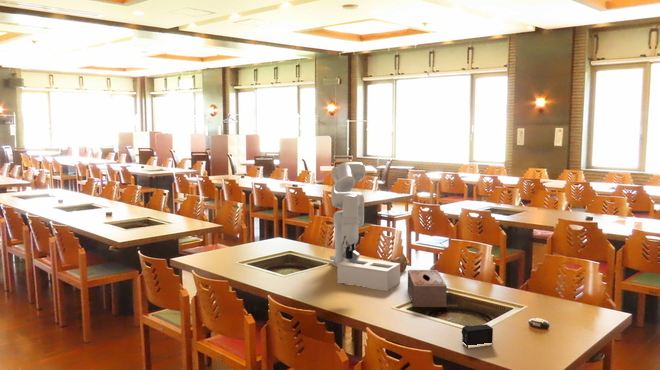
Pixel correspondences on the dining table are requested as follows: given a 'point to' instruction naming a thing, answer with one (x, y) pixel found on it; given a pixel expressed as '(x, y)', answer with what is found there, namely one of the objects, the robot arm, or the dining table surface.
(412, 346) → the dining table surface
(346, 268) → the white rectangular block
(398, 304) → the dining table surface
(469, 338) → the digital camera
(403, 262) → the tin
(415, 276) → the tissue box cover
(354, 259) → the brushed metal block
